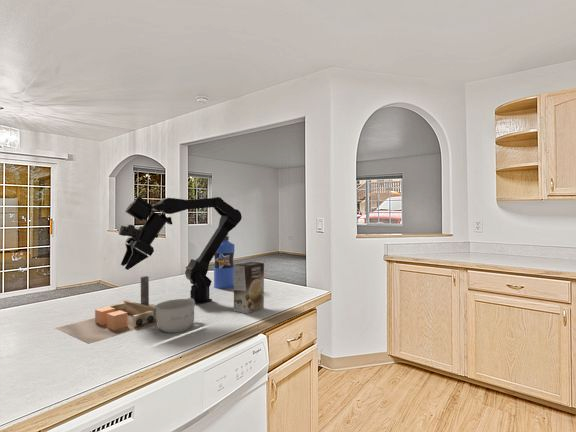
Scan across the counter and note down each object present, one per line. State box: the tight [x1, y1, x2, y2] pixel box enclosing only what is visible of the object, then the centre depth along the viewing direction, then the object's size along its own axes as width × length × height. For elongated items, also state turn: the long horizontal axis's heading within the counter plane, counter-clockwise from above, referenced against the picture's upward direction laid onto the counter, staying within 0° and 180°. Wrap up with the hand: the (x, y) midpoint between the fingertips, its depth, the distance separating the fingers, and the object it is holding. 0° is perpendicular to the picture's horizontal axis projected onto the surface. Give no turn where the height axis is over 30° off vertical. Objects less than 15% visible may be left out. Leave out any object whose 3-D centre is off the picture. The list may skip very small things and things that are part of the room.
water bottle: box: [213, 233, 235, 290], centre depth 155 cm, size 9×9×25 cm
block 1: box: [94, 306, 115, 325], centre depth 104 cm, size 4×4×4 cm
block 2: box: [107, 310, 128, 330], centre depth 100 cm, size 4×4×4 cm
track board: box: [55, 303, 157, 345], centre depth 106 cm, size 31×20×1 cm, turn 145°
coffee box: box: [233, 261, 265, 314], centre depth 120 cm, size 9×6×16 cm
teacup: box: [155, 297, 196, 334], centre depth 101 cm, size 14×11×8 cm
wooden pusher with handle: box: [105, 275, 156, 326], centre depth 108 cm, size 10×18×12 cm, turn 55°
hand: (124, 267), depth 115 cm, fingers open, 9 cm apart
